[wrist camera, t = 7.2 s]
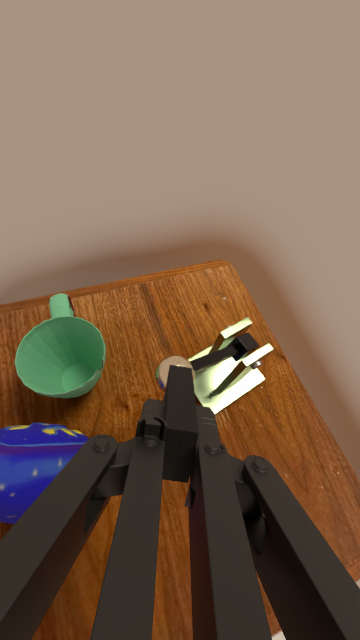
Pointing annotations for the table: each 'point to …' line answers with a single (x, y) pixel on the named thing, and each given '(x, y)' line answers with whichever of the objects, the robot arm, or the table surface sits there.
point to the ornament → (32, 463)
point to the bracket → (228, 371)
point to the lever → (207, 358)
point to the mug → (61, 353)
